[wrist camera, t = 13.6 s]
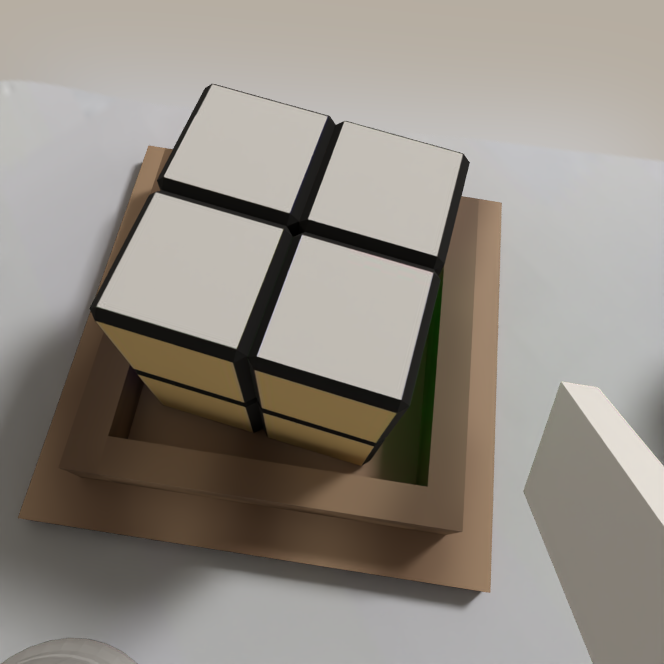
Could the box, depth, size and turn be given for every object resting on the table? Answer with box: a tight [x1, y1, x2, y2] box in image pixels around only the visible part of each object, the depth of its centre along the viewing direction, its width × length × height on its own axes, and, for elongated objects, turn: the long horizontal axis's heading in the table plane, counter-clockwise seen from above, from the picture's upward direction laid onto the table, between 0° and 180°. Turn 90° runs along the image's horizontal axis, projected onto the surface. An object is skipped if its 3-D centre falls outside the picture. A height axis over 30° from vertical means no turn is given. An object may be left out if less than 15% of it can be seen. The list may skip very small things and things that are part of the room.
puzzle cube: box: [89, 84, 470, 466], centre depth 23 cm, size 10×10×10 cm
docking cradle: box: [18, 146, 502, 593], centre depth 26 cm, size 20×20×4 cm
